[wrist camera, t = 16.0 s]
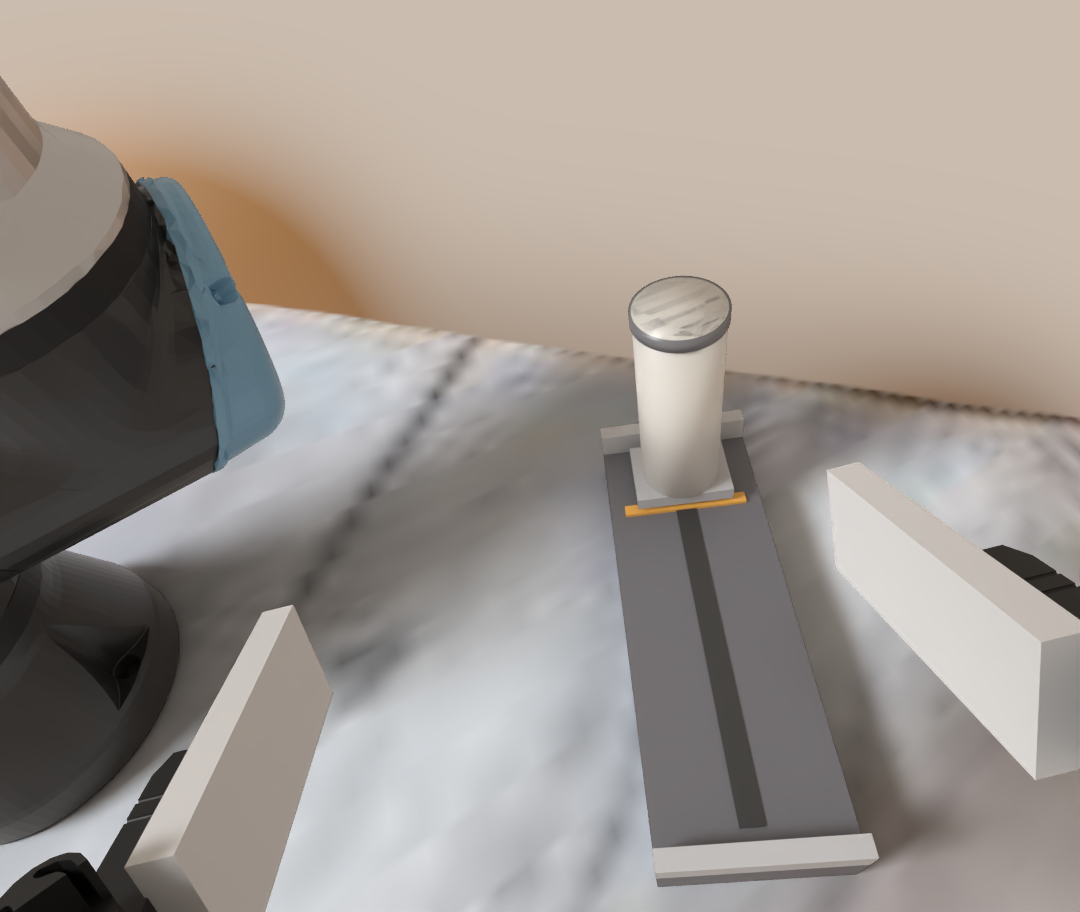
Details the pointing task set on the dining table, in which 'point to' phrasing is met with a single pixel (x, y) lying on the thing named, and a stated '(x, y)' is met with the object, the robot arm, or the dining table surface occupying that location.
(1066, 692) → the robot arm
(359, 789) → the dining table surface
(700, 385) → the fader knob
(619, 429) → the fader console
